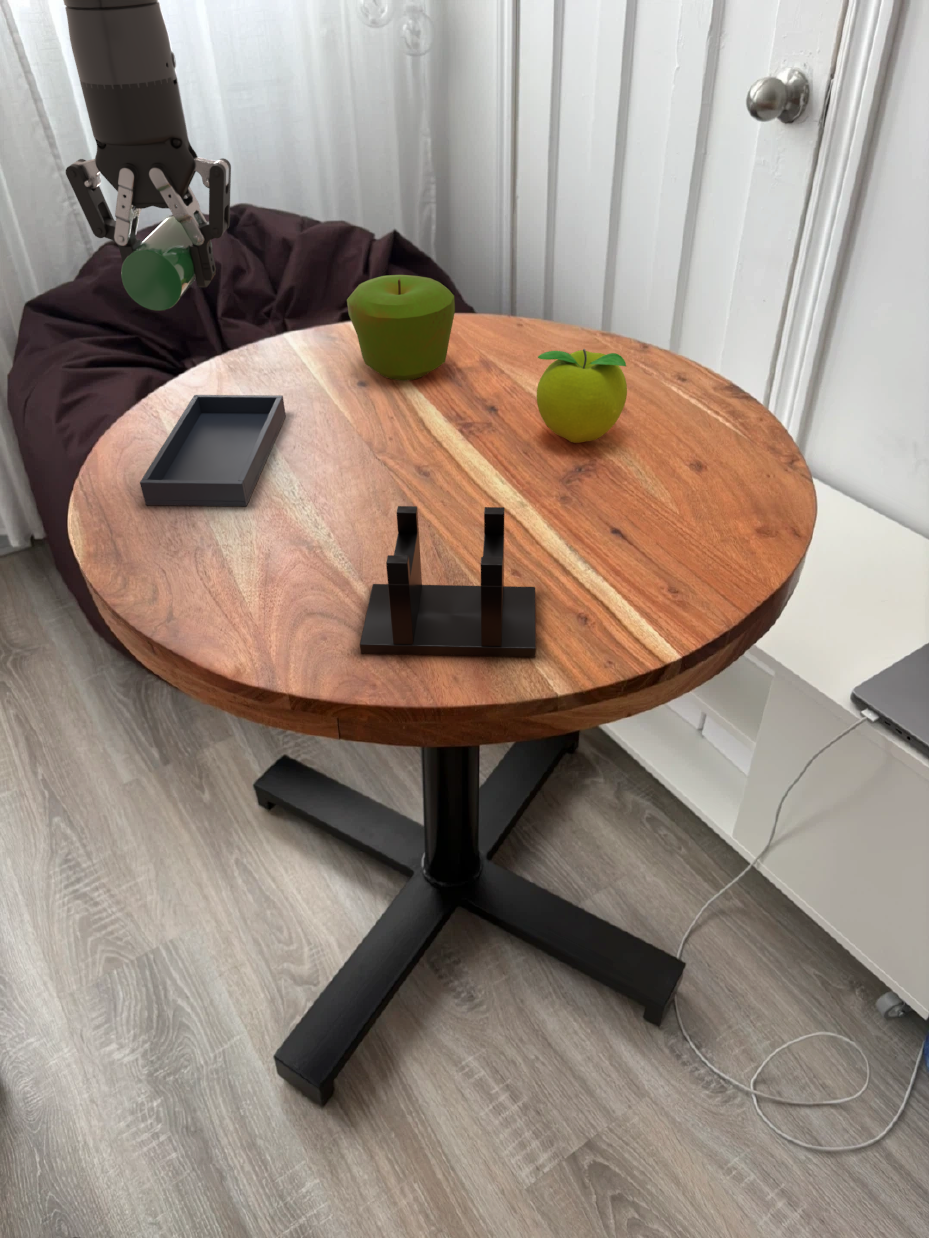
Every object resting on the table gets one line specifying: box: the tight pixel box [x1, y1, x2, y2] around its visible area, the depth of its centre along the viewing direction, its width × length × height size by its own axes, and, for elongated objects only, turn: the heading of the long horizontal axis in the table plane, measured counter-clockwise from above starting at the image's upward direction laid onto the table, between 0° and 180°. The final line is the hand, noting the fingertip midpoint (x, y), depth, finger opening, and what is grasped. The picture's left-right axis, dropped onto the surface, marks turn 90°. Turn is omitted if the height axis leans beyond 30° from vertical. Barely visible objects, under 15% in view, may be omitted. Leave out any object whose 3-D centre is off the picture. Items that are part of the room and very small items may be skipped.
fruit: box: [536, 348, 628, 444], centre depth 98 cm, size 9×9×10 cm
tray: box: [139, 394, 287, 507], centre depth 98 cm, size 19×10×3 cm, turn 177°
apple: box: [346, 274, 456, 382], centre depth 112 cm, size 12×12×11 cm
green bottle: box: [120, 215, 213, 312], centre depth 85 cm, size 15×5×5 cm, turn 177°
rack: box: [359, 505, 537, 658], centre depth 74 cm, size 14×8×9 cm, turn 87°
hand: (173, 283), depth 84 cm, fingers closed on green bottle, 5 cm apart
